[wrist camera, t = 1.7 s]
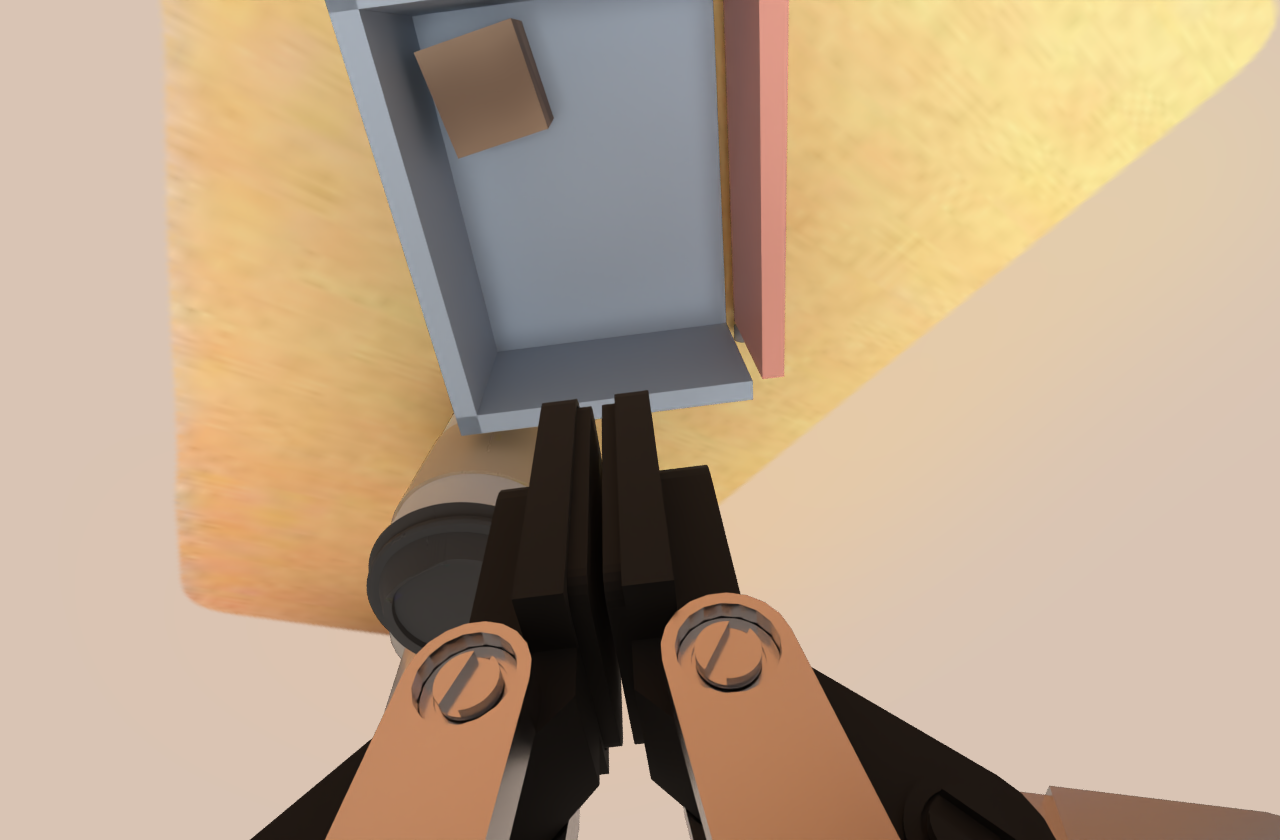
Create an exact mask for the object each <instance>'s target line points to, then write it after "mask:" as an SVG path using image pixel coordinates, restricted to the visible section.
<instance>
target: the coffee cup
mask: <svg viewBox="0 0 1280 840" xmlns="http://www.w3.org/2000/svg"><path fill="white" fill-rule="evenodd" d="M537 431H538V426H537V427H529V428H521V429H513V430H505V431H497V432H489V433H481V434H473V435H465V436H461V433H460V430H459V427H458V423H457V420H456V417H455V414H453V415H452V417H451V419H450V421H449V422H448V424H447V426H446V428H445V430H444V431H443V433H442V435H441V436H440V437H439V438H438V439H437V441H436V442H435V444H434V445H433V447H432V449H431V450H430V452H429V454H428V455H427V457H426V459H425V461H424V462H423V464H422V466H421V467H420V469H419V471H418V472H417V474H416V476H415V477H414V479H413V481H412V483H411V484H410V486H409V488H408V489H407V491H406V493H405V494H404V496H403V498H402V499H401V501H400V503H399V505H398V506H397V508H396V510H395V512H394V515H393V518H392V522H391V525H390V526H389V527H387V528H386V529H385V530H384V531H383V533H382V534H381V535H380V536H379V538H378V539H377V541H376V542H375V544H374V546H373V548H372V551H371V554H370V558H369V573H368V578H367V595H368V599H369V603H370V605H371V608H372V610H373V612H374V613H375V615H376V617H377V618H378V619H379V621H380V622H381V623H382V625H383V626H384V627H385V628H386V629H387V630H388V631H389V632H390V633H391V634H392V635H393V637H394V638H395V639H396V640H397V641H398V642H399V643H400V644H401V645H403V646H404V647H405V648H407V649H408V650H410V651H411V652H413V653H415V654H417V653H418V652H419V651H420V650H421V649H422V648H423V647H424V646H425V645H426V644H427V643H428V642H430V641H432V640H433V639H435V638H436V637H438V636H439V635H441V634H443V633H444V632H446V631H448V630H451V629H453V628H456V627H459V626H461V625H464V624H468V623H469V621H470V617H471V612H472V608H473V603H474V599H475V594H476V590H477V585H478V581H479V576H480V572H481V567H482V563H483V558H484V554H485V549H486V544H487V540H488V535H489V531H490V526H491V522H492V517H493V513H494V508H495V504H496V499H497V496H498V493H499V492H500V491H501V490H505V489H513V488H521V487H529V482H530V476H531V469H532V463H533V456H534V450H535V444H536V437H537Z"/></svg>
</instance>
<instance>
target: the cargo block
mask: <svg viewBox="0 0 1280 840" xmlns="http://www.w3.org/2000/svg"><path fill="white" fill-rule="evenodd" d="M414 55H415V57H416V59H417V62H418V64H419V67H420V69H421V71H422V74H423V76H424V78H425V81H426V83H427V86H428V88H429V90H430V93H431V95H432V97H433V100H434V102H435V105H436V107H437V109H438V112H439V114H440V116H441V119H442V121H443V124H444V126H445V128H446V131H447V133H448V136H449V138H450V140H451V143H452V145H453V147H454V150H455V152H456V155H457V157H458V159H459V158H462V157H465V156H468V155H471V154H474V153H477V152H480V151H483V150H486V149H489V148H492V147H495V146H498V145H501V144H504V143H507V142H510V141H513V140H516V139H519V138H522V137H525V136H528V135H531V134H534V133H537V132H540V131H543V130H546V129H548V128H549V126H550V124H551V123H552V121H553V119H554V117H553V114H552V111H551V108H550V105H549V102H548V99H547V96H546V93H545V90H544V87H543V84H542V81H541V78H540V75H539V72H538V69H537V66H536V63H535V60H534V57H533V54H532V51H531V48H530V45H529V42H528V39H527V36H526V33H525V30H524V27H523V24H522V21H520V20H516V19H512V18H509V19H507V20H504V21H501V22H498V23H495V24H493V25H490V26H487V27H484V28H481V29H479V30H476V31H473V32H470V33H467V34H464V35H462V36H459V37H456V38H453V39H450V40H448V41H445V42H442V43H439V44H436V45H434V46H431V47H428V48H425V49H422V50H420V51H417V52H414Z"/></svg>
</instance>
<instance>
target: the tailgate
mask: <svg viewBox="0 0 1280 840" xmlns="http://www.w3.org/2000/svg"><path fill="white" fill-rule="evenodd" d="M723 5H724V34H725V64H726V94H727V123H728V153H729V182H730V212H731V242H732V271H733V301H734V321H735V323H736V326H737V328H738V330H739V332H740V334H741V336H742V338H743V340H744V342H745V344H746V346H747V348H748V350H749V352H750V354H751V356H752V358H753V360H754V363H755V365H756V367H757V369H758V371H759V373H760V375H761V377H762V379H767V378H775V377H783V376H784V344H785V262H786V180H787V97H788V15H789V0H723Z"/></svg>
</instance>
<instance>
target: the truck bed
mask: <svg viewBox="0 0 1280 840" xmlns="http://www.w3.org/2000/svg"><path fill="white" fill-rule="evenodd" d="M325 3H326V6H327V9H328V12H329V15H330V18H331V22H332V25H333V28H334V31H335V34H336V38H337V41H338V44H339V47H340V50H341V54H342V57H343V60H344V63H345V66H346V69H347V73H348V76H349V79H350V82H351V85H352V89H353V92H354V95H355V98H356V101H357V105H358V108H359V111H360V114H361V117H362V121H363V124H364V127H365V130H366V133H367V136H368V140H369V143H370V146H371V149H372V152H373V156H374V159H375V162H376V165H377V168H378V172H379V175H380V178H381V181H382V184H383V187H384V191H385V194H386V197H387V200H388V203H389V207H390V210H391V213H392V216H393V219H394V223H395V226H396V229H397V232H398V235H399V239H400V242H401V245H402V248H403V251H404V254H405V258H406V261H407V264H408V267H409V270H410V274H411V277H412V280H413V283H414V286H415V290H416V293H417V296H418V299H419V302H420V305H421V309H422V312H423V315H424V318H425V321H426V325H427V328H428V331H429V334H430V337H431V341H432V344H433V347H434V350H435V353H436V356H437V360H438V363H439V366H440V369H441V372H442V376H443V379H444V382H445V385H446V388H447V392H448V395H449V398H450V401H451V404H452V408H453V411H454V414H455V417H456V420H457V423H458V427H459V430H460V433H461V436H465V435H473V434H481V433H489V432H497V431H505V430H513V429H521V428H529V427H537V426H538V424H539V418H540V412H541V406H542V403H547V402H555V401H563V400H571V399H577V400H578V402H579V406H580V407H588V406H592V409H593V414H594V419H601V418H602V405H605V404H613V403H615V401H614V394H620V393H628V392H636V391H644V390H648V392H649V399H650V406H651V412H656V411H664V410H672V409H680V408H688V407H696V406H704V405H712V404H720V403H728V402H736V401H744V400H752V399H753V381H752V378H751V376H750V374H749V372H748V370H747V367H746V365H745V363H744V361H743V359H742V356H741V354H740V352H739V350H738V348H737V345H736V343H735V341H737V342H744V340H743V338H742V336H741V334H740V332H739V330H738V328H737V326H736V324H735V325H734V339H733V337H732V334H731V332H730V330H729V328H728V326H727V323H726V305H725V281H724V257H723V232H722V208H721V183H720V159H719V135H718V110H717V86H716V62H715V37H714V13H713V0H325ZM509 18H512V19H516V20H520V21H522V24H523V27H524V30H525V33H526V36H527V39H528V42H529V45H530V48H531V51H532V54H533V57H534V60H535V63H536V66H537V69H538V72H539V75H540V78H541V81H542V84H543V87H544V90H545V93H546V96H547V99H548V102H549V105H550V108H551V111H552V114H553V117H554V119H553V121H552V123H551V124H550V126H549V128H548V129H546V130H543V131H540V132H537V133H534V134H531V135H528V136H525V137H522V138H519V139H516V140H513V141H510V142H507V143H504V144H501V145H498V146H495V147H492V148H489V149H486V150H483V151H480V152H477V153H474V154H471V155H468V156H465V157H462V158H459V159H458V157H457V155H456V152H455V150H454V147H453V145H452V143H451V140H450V138H449V136H448V133H447V131H446V128H445V126H444V124H443V121H442V119H441V116H440V114H439V112H438V109H437V107H436V105H435V102H434V100H433V97H432V95H431V93H430V90H429V88H428V86H427V83H426V81H425V78H424V76H423V74H422V71H421V69H420V67H419V64H418V62H417V59H416V57H415V55H414V52H417V51H420V50H422V49H425V48H428V47H431V46H434V45H436V44H439V43H442V42H445V41H448V40H450V39H453V38H456V37H459V36H462V35H464V34H467V33H470V32H473V31H476V30H479V29H481V28H484V27H487V26H490V25H493V24H495V23H498V22H501V21H504V20H507V19H509ZM734 340H735V341H734Z"/></svg>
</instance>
